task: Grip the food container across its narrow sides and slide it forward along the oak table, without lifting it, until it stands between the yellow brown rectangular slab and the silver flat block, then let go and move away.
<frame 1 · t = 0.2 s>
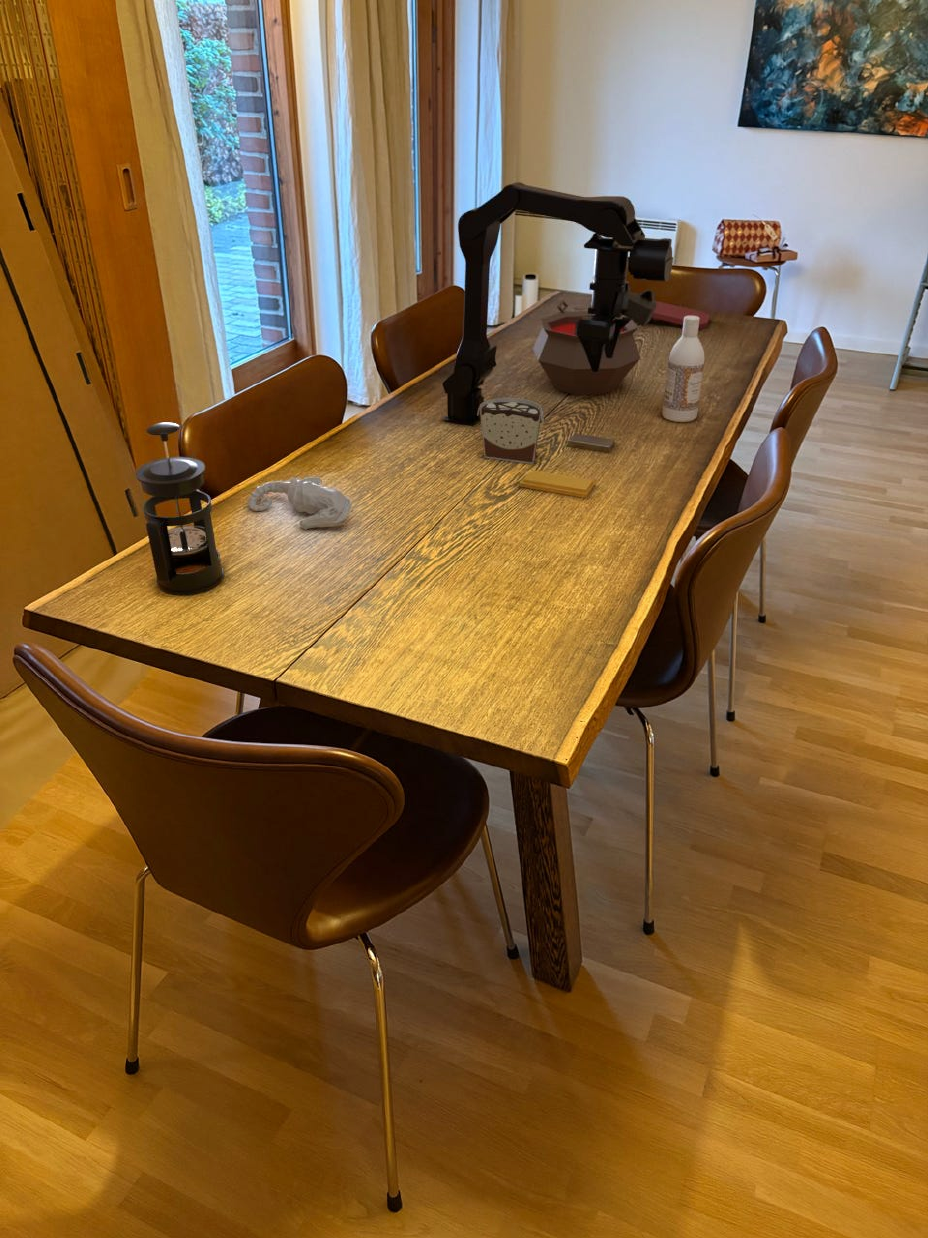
hand: (602, 364, 169), 15 cm above the table, tool pointing down, fingers open, 9 cm apart
silver flat block: (591, 445, 174), on the table
food container: (513, 455, 170), on the table
seahorse: (300, 514, 150), on the table
french press: (189, 581, 131), on the table
yellow brown rectangular slab: (556, 486, 158), on the table
dark red bevelled block: (660, 321, 251), on the table
brown faceted pot: (583, 385, 204), on the table
bath foam: (679, 418, 187), on the table
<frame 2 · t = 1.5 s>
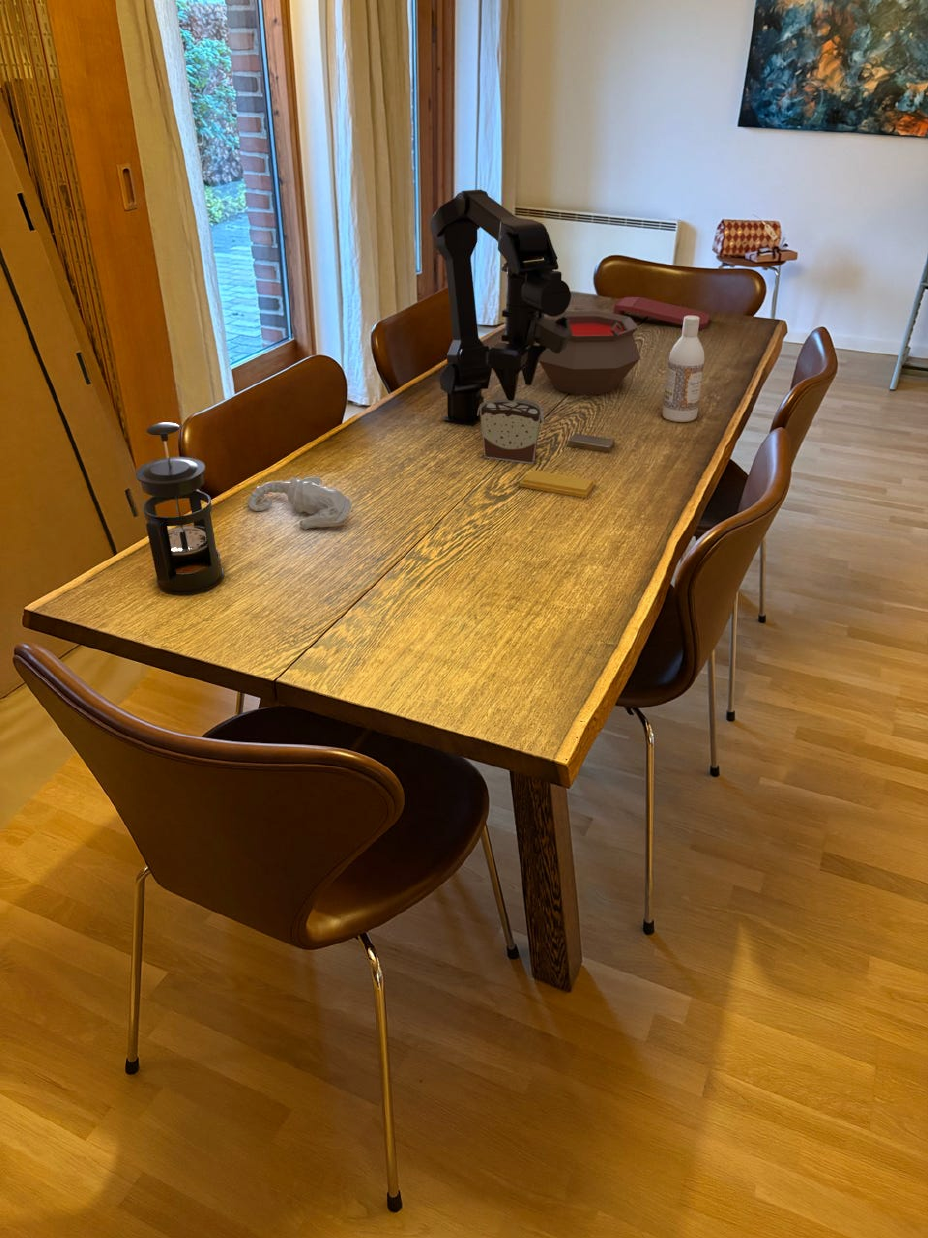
hand: (519, 392, 164), 12 cm above the table, tool pointing down, fingers open, 9 cm apart
nothing on the table moved.
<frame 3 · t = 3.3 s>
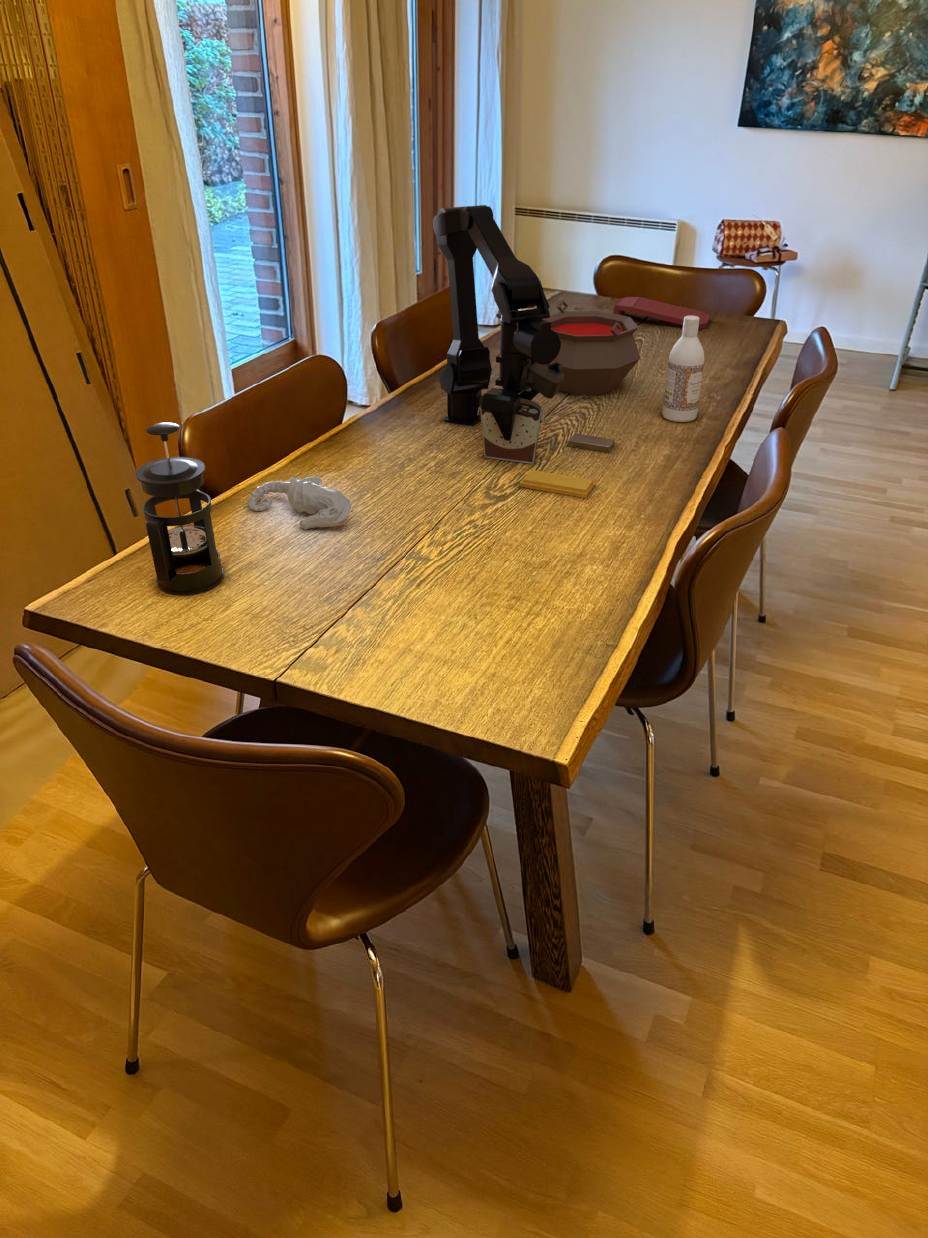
hand: (513, 434, 168), 4 cm above the table, tool pointing down, fingers closed on food container, 6 cm apart
food container: (513, 455, 170), on the table, touching gripper
everything else where it was.
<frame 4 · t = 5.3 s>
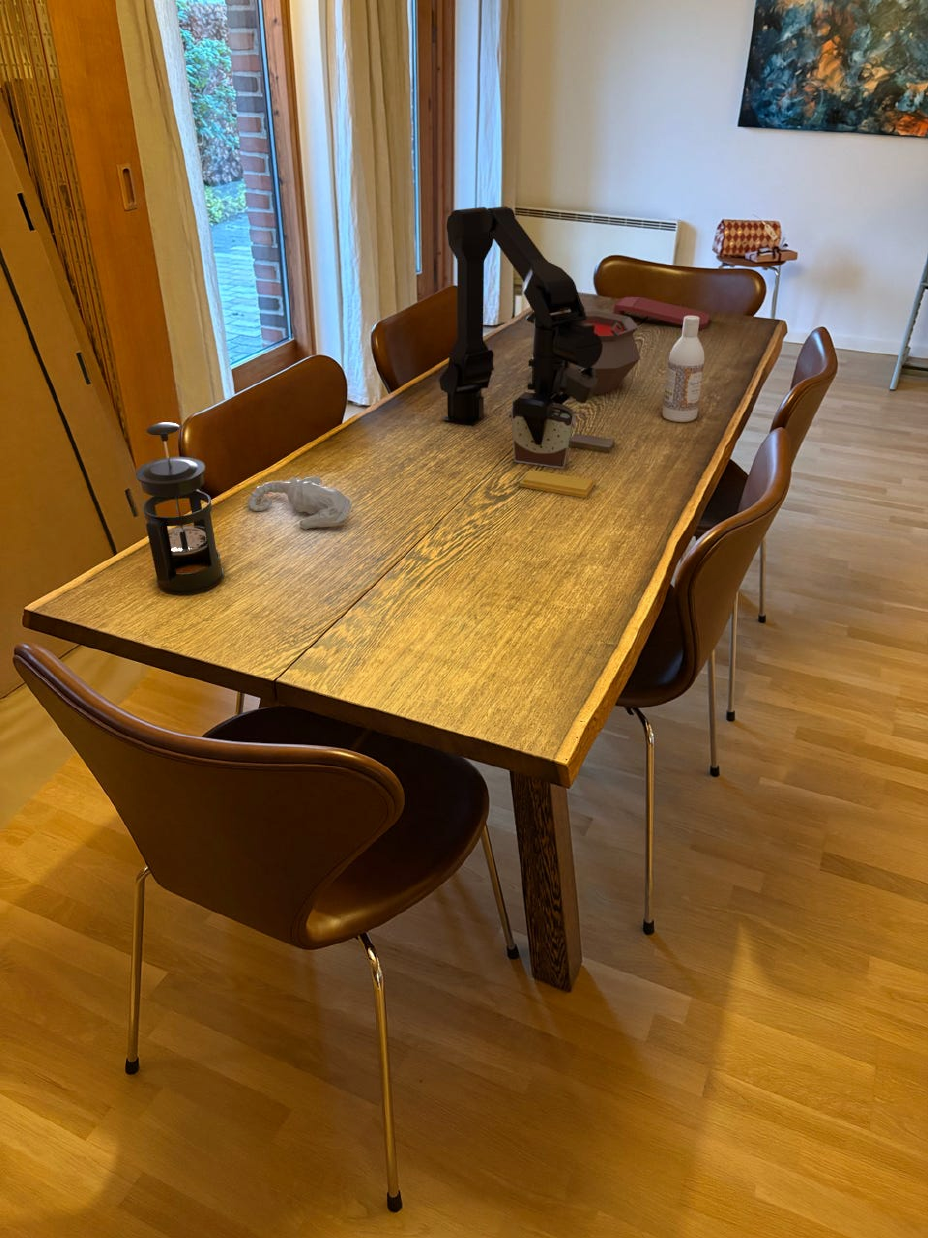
hand: (544, 438, 166), 4 cm above the table, tool pointing down, fingers closed on food container, 6 cm apart
food container: (543, 460, 169), on the table, touching gripper
everything else where it was.
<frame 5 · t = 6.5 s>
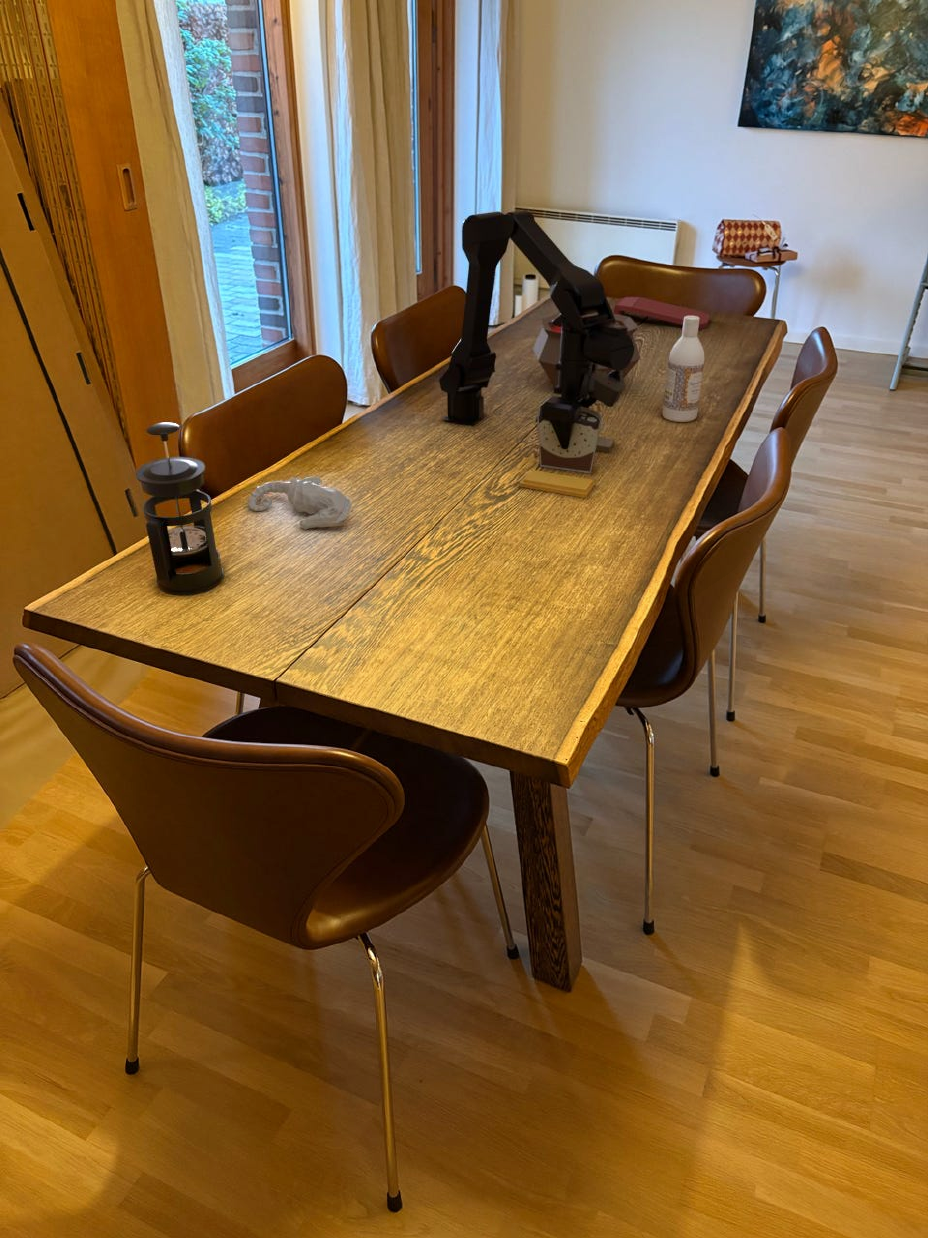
hand: (570, 442, 164), 4 cm above the table, tool pointing down, fingers closed on food container, 6 cm apart
food container: (569, 464, 167), on the table, touching gripper
everything else where it was.
when the fingers open (4 cm above the table, at t = 7.4 s): food container stays where it is, on the table.
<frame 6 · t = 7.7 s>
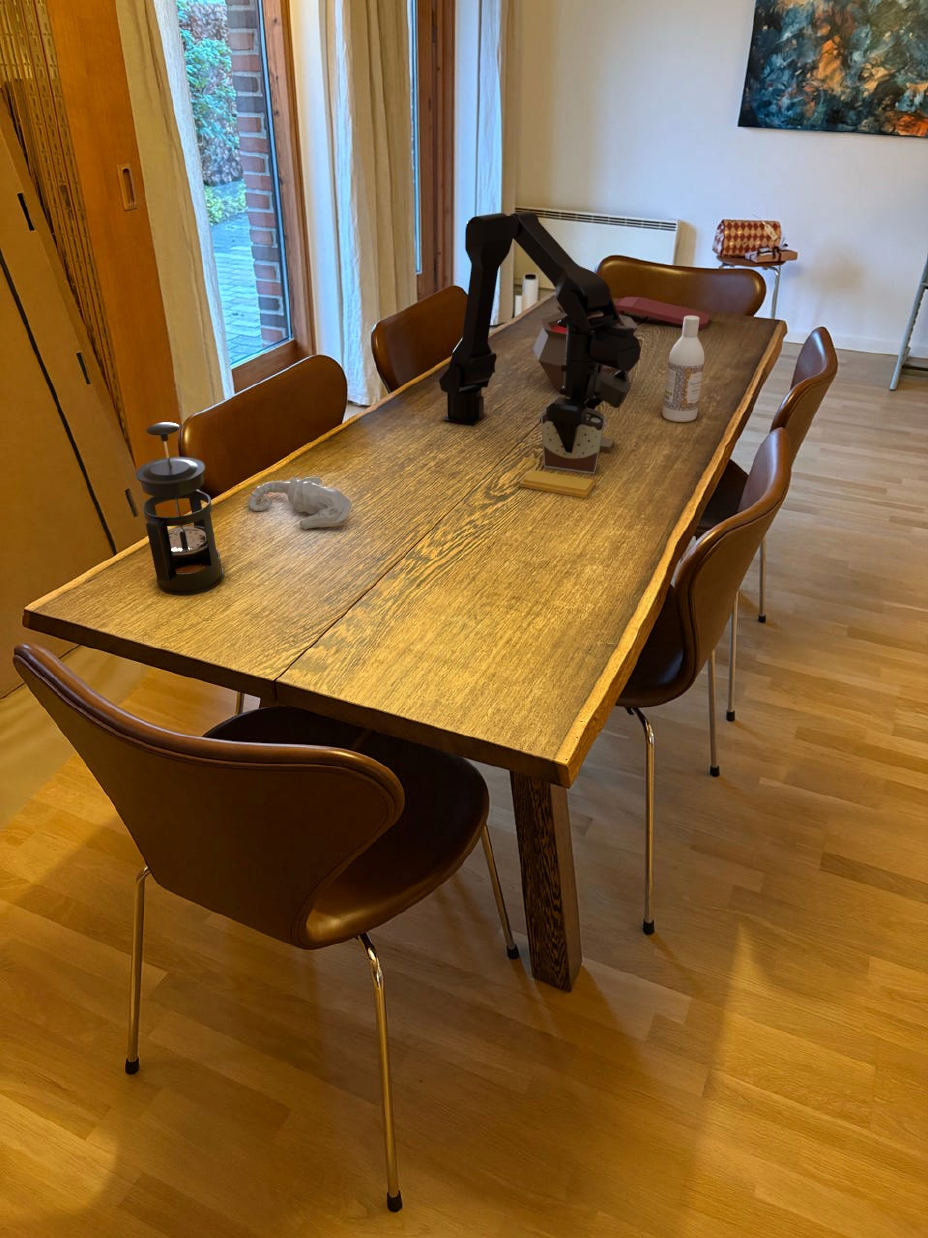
hand: (576, 443, 164), 4 cm above the table, tool pointing down, fingers open, 8 cm apart
food container: (573, 465, 167), on the table
everything else where it was.
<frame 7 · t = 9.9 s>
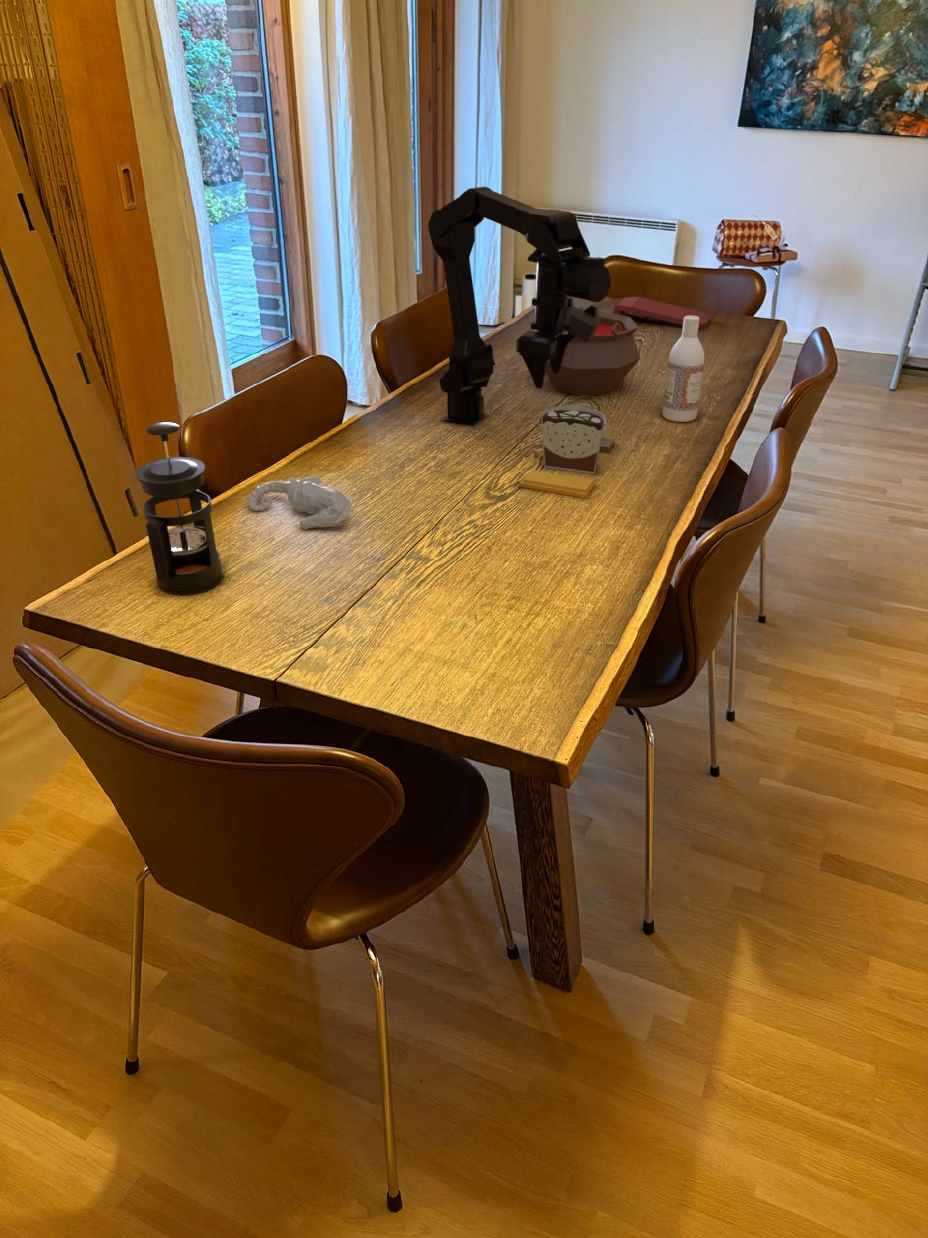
hand: (547, 380, 167), 13 cm above the table, tool pointing down, fingers open, 9 cm apart
nothing on the table moved.
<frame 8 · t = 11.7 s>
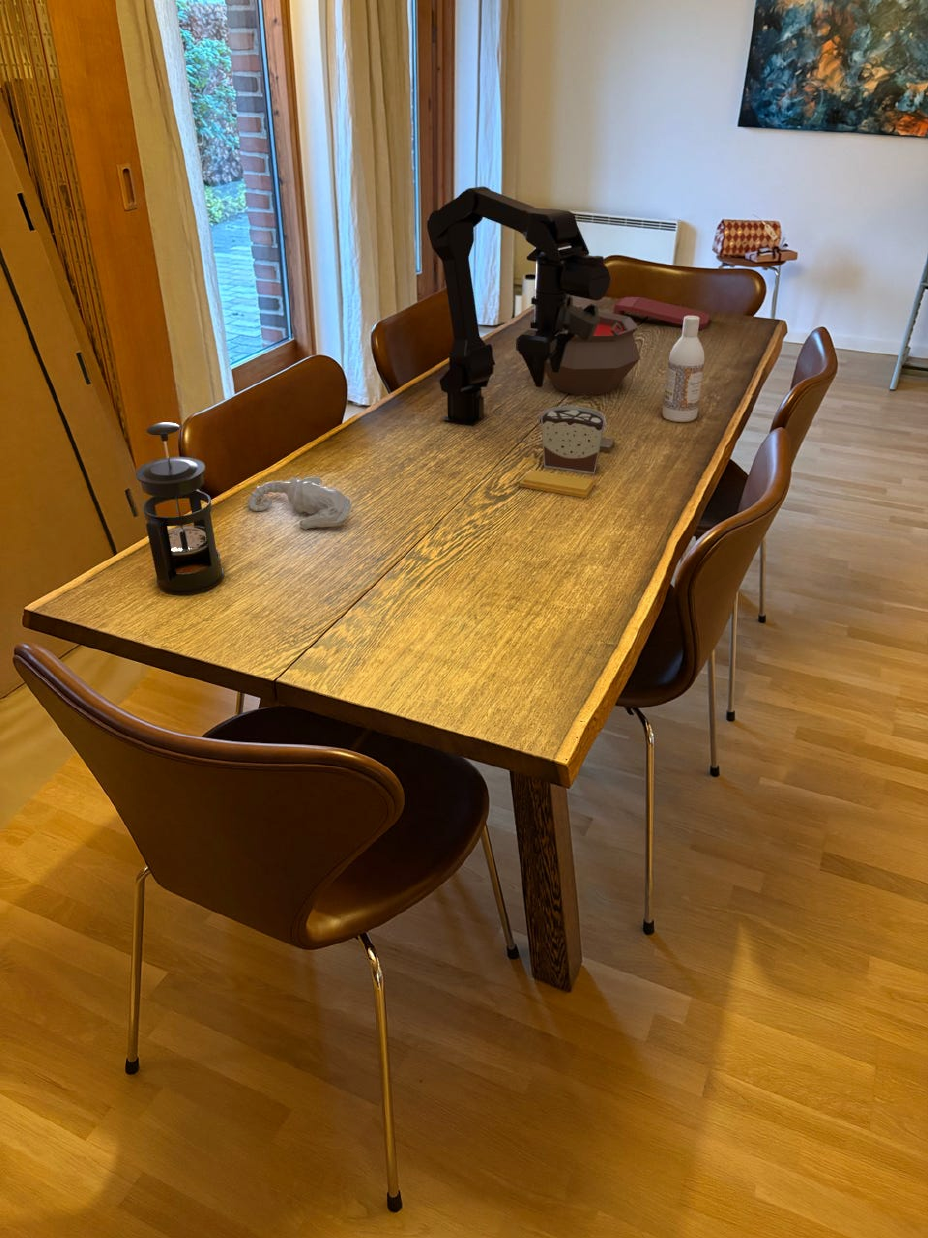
hand: (547, 379, 167), 13 cm above the table, tool pointing down, fingers open, 9 cm apart
nothing on the table moved.
at the end: food container inside the target area (0.4 cm from its centre), on the table; food container tilted 0°; food container moved 11.6 cm from its start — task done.
